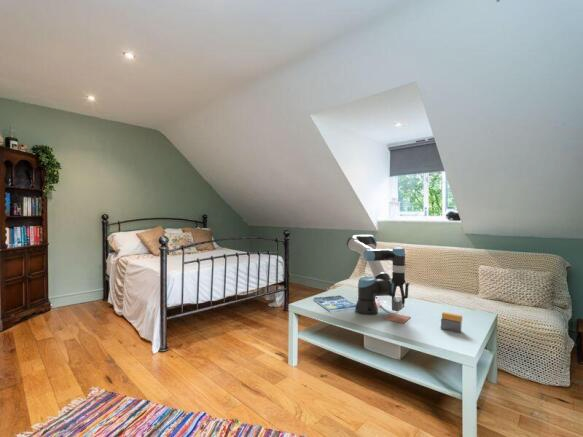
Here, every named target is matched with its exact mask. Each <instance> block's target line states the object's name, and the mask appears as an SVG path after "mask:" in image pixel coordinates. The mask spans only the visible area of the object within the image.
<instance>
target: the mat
mask: <svg viewBox="0 0 583 437" xmlns="http://www.w3.org/2000/svg"><path fill="white" fill-rule="evenodd" d="M410 319H412V318H411V316H408V315H404V314H400V313H395V312H392V313H391V314H389V315H388V316H386V317H385V318H384V320H385V321H390V322H396V323H399V324H405V323H407V322H408V321H409V320H410Z"/></svg>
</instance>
